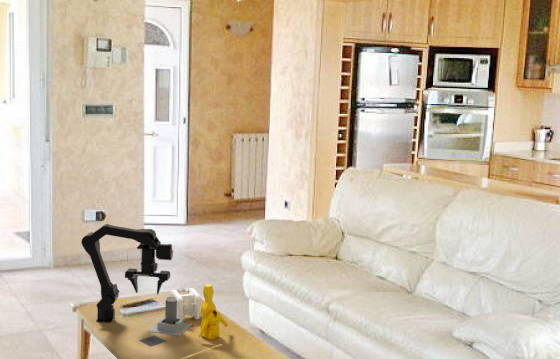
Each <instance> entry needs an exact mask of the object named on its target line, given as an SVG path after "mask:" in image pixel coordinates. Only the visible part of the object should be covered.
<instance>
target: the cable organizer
mask: <svg viewBox="0 0 560 359" xmlns="http://www.w3.org/2000/svg"><path fill="white" fill-rule="evenodd" d="M170 294H171V295H170V297H176V300H177V318H183V319H186V316H187V315H188V316H189V315H190V317H193V318H194V319H195V321H197V320H199V319H200V317H201V316H200V314H201V297H200V294H199V293H198V292H197V291H196V289H194V288H193V287H190V288H189V289H188V293H186V294H180V293H179V292H178V291H177V289H171V291H170Z"/></svg>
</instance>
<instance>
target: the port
mask: <svg viewBox="0 0 560 359" xmlns="http://www.w3.org/2000/svg"><path fill="white" fill-rule="evenodd" d="M192 327H193V324H192V323H188V322H185V318H184V317H183V318H177V321H176V323H175V324H169V323H165V316H163V317H162V318H161V319H160V320H159V321H158V322H157V323H156V324H155V325H154V326H153V327H151V329H148V332H149V333H150V332H151V333H155V334H163V335H169V336H176V337H181V336H182V335H183V334H184V333H185V332H186V331H187V330H188V329H190V328H192Z"/></svg>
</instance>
